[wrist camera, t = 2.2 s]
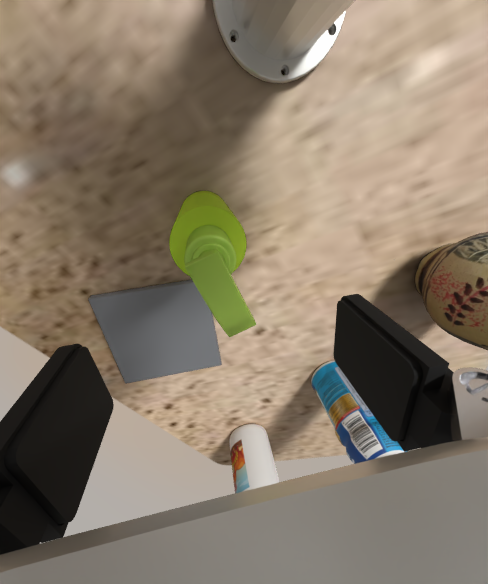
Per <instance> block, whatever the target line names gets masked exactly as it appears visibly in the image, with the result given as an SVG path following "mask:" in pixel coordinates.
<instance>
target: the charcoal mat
mask: <svg viewBox="0 0 488 584" xmlns="http://www.w3.org/2000/svg"><path fill="white" fill-rule="evenodd" d="M88 300H89V302H90V304H91V307H92V309H93V311H94V313H95V316H96V318H97V320H98V322H99V325H100V327H101V329H102V331H103V334H104V336H105V338H106V341H107V343H108V345H109V347H110V350H111V352H112V354H113V356H114V359H115V361H116V363H117V365H118V368H119V370H120V372H121V374H122V377H123V379H124V381H125V383H131V382H136V381H141V380H147V379H152V378H157V377H162V376H167V375H172V374H178V373H183V372H188V371H193V370H198V369H203V368H209V367H214V366H219V365H222V364H221V358H220V352H219V347H218V342H217V337H216V331H215V326H214V321H213V315H212V312H211V310H210V309H209V307H208V306H207V304H206V302H205V301H204V299H203V297H202V296H201V294H200V292H199V291H198V289H197V287H196V286H195V284H194V282H193V280H186V281H180V282H174V283H167V284H161V285H155V286H149V287H142V288H136V289H130V290H123V291H117V292H111V293H104V294H98V295H92V296H90V298H89V299H88Z"/></svg>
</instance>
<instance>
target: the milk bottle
mask: <svg viewBox="0 0 488 584" xmlns="http://www.w3.org/2000/svg"><path fill="white" fill-rule="evenodd" d="M229 442H230V452H231V461H232V470H233V478H234V487H235V493H239V492H243V491H247V490H251V489H255V488H259V487H263V486H267V485H271V484H275V483H279V478H278V474H277V470H276V466H275V462H274V458H273V454H272V450H271V446H270V442H269V439H268V435H267V432H266V430H265V429H264V428H263V427H262V426H260V425H258V424H246V425H242V426H240V427H238V428H237V429H235V430H234V431H233V432H232V434H231V436H230V440H229Z"/></svg>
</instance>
